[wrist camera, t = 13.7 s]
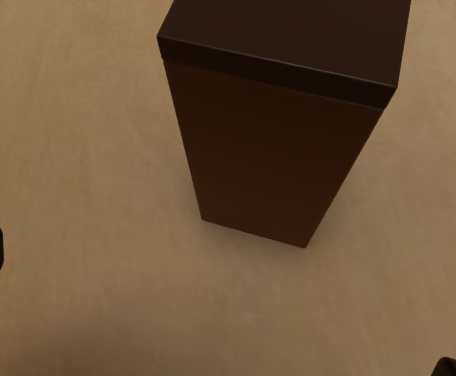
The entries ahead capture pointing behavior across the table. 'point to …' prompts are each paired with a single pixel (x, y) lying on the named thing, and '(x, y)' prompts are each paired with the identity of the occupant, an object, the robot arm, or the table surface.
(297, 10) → the brown wooden block
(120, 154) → the table surface
